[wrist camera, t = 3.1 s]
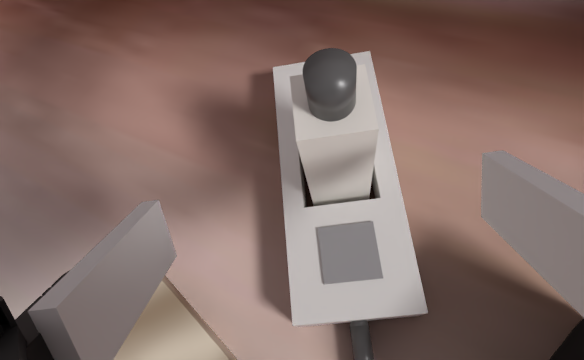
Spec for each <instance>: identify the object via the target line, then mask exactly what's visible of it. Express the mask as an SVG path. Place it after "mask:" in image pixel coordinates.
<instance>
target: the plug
mask: <svg viewBox="0 0 584 360" xmlns="http://www.w3.org/2000/svg"><path fill="white" fill-rule="evenodd" d="M290 85H291V95H292V105H293V115H294V126H295V136H296V143H297V147H298V150H299V154H300V157H301V161H302V165H303V168H304V172H305V176H306V179H307V183H308V187H309V190H310V194H311V198H312V201H313V205H314V206H321V205H329V204H337V203H345V202H353V201H360V200H368V199H369V196H370V189H371V182H372V175H373V167H374V160H375V153H376V146H377V139H378V132H379V127H378V123H377V118H376V113H375V109H374V104H373V99H372V94H371V90H370V85H369V80H368V75H367V71H366V66H365V64H362V65H356V62H355V60H354V58H353V57H352V56H351V55H350V54H349V53H347V52H346V51H344V50H341V49H336V48H328V49H323V50H320V51H317V52H315V53H314V54H312V55H311V56H310V57H309V58H308V59H307V60H306V62H305V63H304V66H303V74H301V75H295V76H290Z"/></svg>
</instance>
